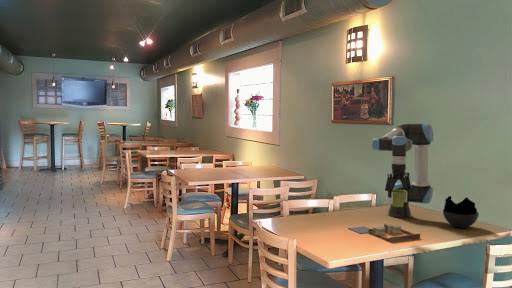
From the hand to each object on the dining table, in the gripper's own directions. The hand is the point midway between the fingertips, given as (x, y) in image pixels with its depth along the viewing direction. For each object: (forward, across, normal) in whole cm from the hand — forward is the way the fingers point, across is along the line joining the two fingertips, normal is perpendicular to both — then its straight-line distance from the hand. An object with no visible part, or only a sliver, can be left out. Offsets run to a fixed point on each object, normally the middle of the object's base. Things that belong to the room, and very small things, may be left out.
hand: (397, 202), depth 231 cm
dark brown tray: (+20, 0, +2) cm, 20 cm away
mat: (+20, -10, +18) cm, 29 cm away
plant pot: (+2, 0, 0) cm, 2 cm away
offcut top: (+17, -1, +8) cm, 19 cm away
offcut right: (+20, +5, +8) cm, 22 cm away
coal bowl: (+21, +52, +2) cm, 56 cm away
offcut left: (+20, -6, +8) cm, 23 cm away
